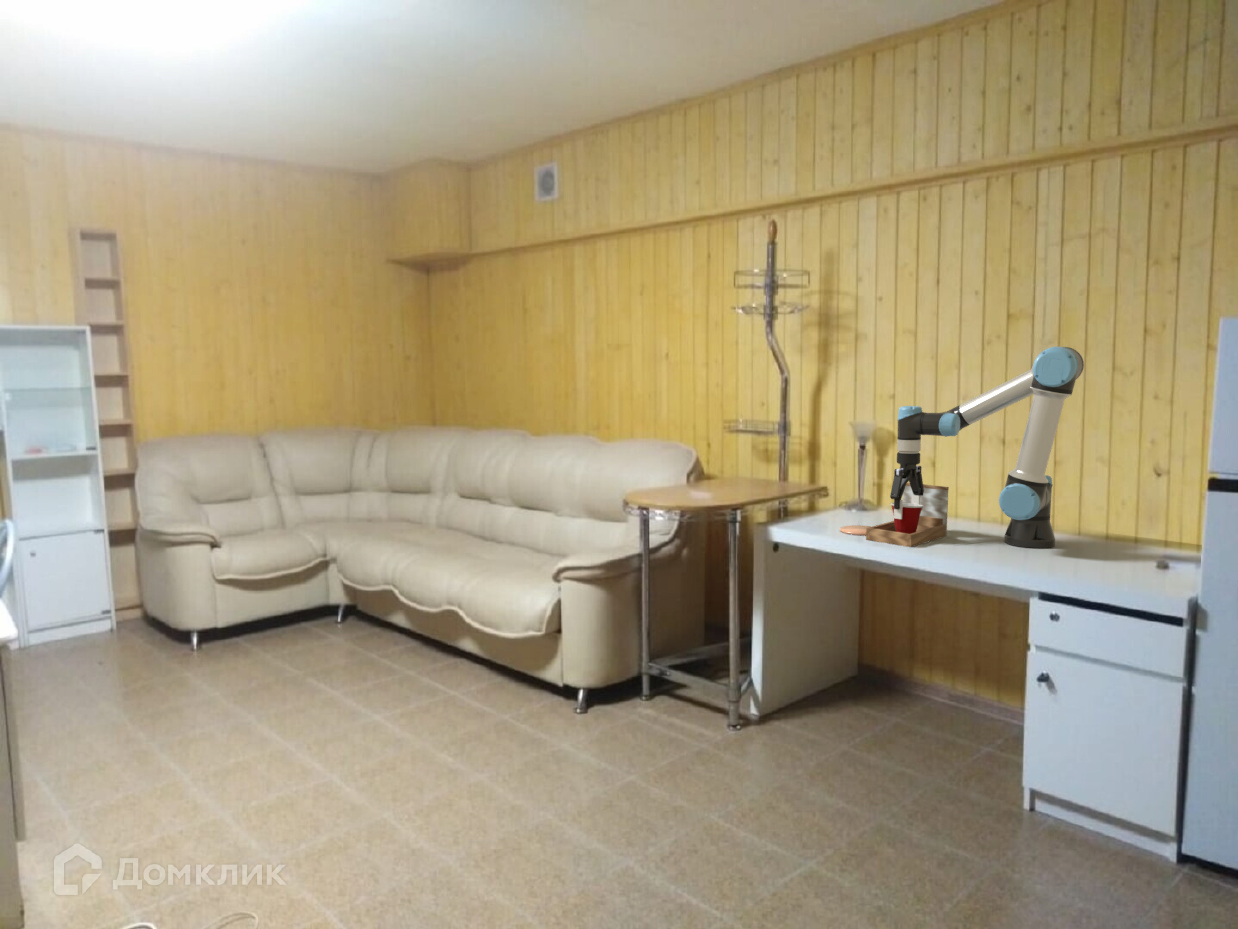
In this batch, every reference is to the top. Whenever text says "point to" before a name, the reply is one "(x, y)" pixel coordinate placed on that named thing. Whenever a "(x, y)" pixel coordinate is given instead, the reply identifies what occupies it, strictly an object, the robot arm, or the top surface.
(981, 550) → the top surface
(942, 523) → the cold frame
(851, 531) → the saucer
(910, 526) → the plastic cup
